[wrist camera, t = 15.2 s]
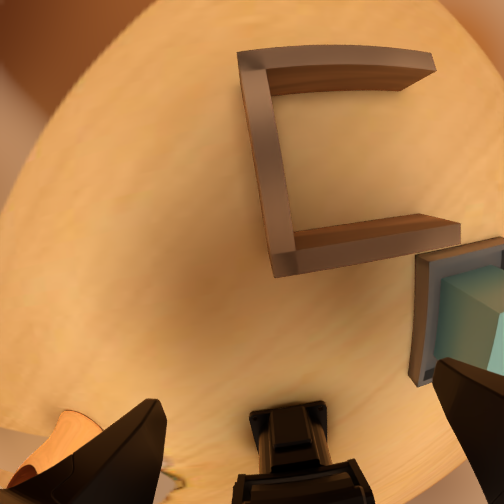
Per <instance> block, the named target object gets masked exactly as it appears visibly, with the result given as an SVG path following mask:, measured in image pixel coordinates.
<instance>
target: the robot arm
mask: <svg viewBox="0 0 504 504" xmlns="http://www.w3.org/2000/svg"><path fill="white" fill-rule="evenodd" d="M432 384H433V387H434V389H435V392H436V394H437V396H438V399H439V401H440V403H441V406H442V408H443V411H444V413H445V415H446V418H447V420H448V422H449V424H450V426H451V427H452V429H453V431H454V433H455V435H456V437H457V439H458V441H459V443H460V445H461V446H462V448H463V450H464V452H465V454H466V456H467V458H468V460H469V462H470V464H471V467H472V469H473V471H474V473H475V475H476V477H477V479H478V481H479V484H480V486H481V488H482V490H483V493H484V495H485V497H486V500H487V502H488V504H504V376H503V375H500V374H497V373H494V372H491V371H488V370H485V369H482V368H479V367H476V366H473V365H470V364H467V363H464V362H461V361H458V360H455V359H453V358H450V357H445V358H442V359H439V360H438V361H437V363H436V366H435V370H434V374H433V379H432ZM319 407H320V408H319ZM254 417H256V418H254ZM249 421H250V424H251V428H252V432H253V436H254V440H255V443H256V447H257V451H258V454H259V474H255V475H246V474H238V479H237V482H235V485H234V486H233V498H232V504H375V500H374V496H373V493H372V490H371V488H370V486H369V484H368V482H367V480H366V479H365V477H364V475H363V473H362V471H361V469H360V468H359V466H358V464H357V462H356V460H355V459H350V460H347V461H346V462H341V463H336V464H332V461H331V457H330V454H329V450H328V446H327V407H326V404H325V402H322V401H321V402H315V403H310V404H304V405H298V406H292V407H286V408H279V409H272V410H265V411H256V412H252V413H250V414H249ZM166 427H167V418H166V415H165V413H164V410H163V407H162V405H161V402H160V401H159V400H158V399H145V400H144V401H142V402H141V403H140V404H139V405H137V406H136V407H135V408H133V409H132V410H131V411H129V412H128V413H127V414H125V415H124V416H123V417H121V418H120V419H119V420H117V421H116V422H115V423H113V424H112V425H111V426H109V427H108V428H107V429H105V430H104V431H103V432H101V433H100V434H98V435H97V436H96V437H94V438H93V439H92V440H90V441H89V442H87V443H86V444H85V445H83V446H82V447H80V448H79V449H78V450H76V451H75V452H73V454H70V455H69V456H67V457H66V458H65V459H63V460H62V461H60V462H58V463H57V464H55V465H54V466H52V467H50V468H49V469H47V470H45V471H43V472H42V473H40V474H38V475H36V476H34V477H32V478H30V479H28V480H26V481H24V482H22V483H20V484H18V485H16V486H13V487H11V488H7V489H0V504H153V500H154V496H155V491H156V487H157V483H158V478H159V474H160V470H161V466H162V461H163V453H164V444H165V436H166Z"/></svg>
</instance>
